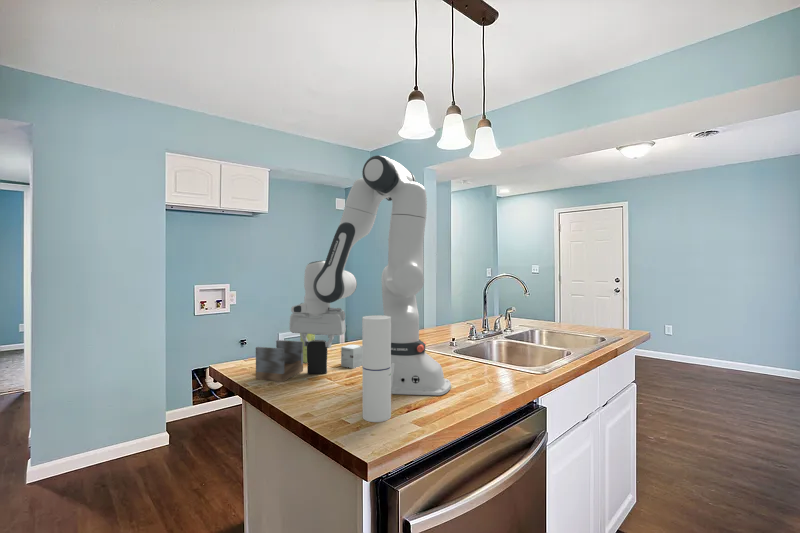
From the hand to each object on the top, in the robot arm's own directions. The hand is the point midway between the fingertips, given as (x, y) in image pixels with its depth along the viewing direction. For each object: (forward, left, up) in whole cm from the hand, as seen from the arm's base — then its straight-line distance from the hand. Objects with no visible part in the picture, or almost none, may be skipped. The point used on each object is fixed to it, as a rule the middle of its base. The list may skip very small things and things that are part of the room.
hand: (317, 346), depth 139 cm
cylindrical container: (-33, +31, -9) cm, 46 cm away
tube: (+11, -13, -9) cm, 19 cm away
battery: (0, 0, -9) cm, 9 cm away
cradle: (+11, +6, -9) cm, 16 cm away
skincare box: (-8, -12, -9) cm, 17 cm away
